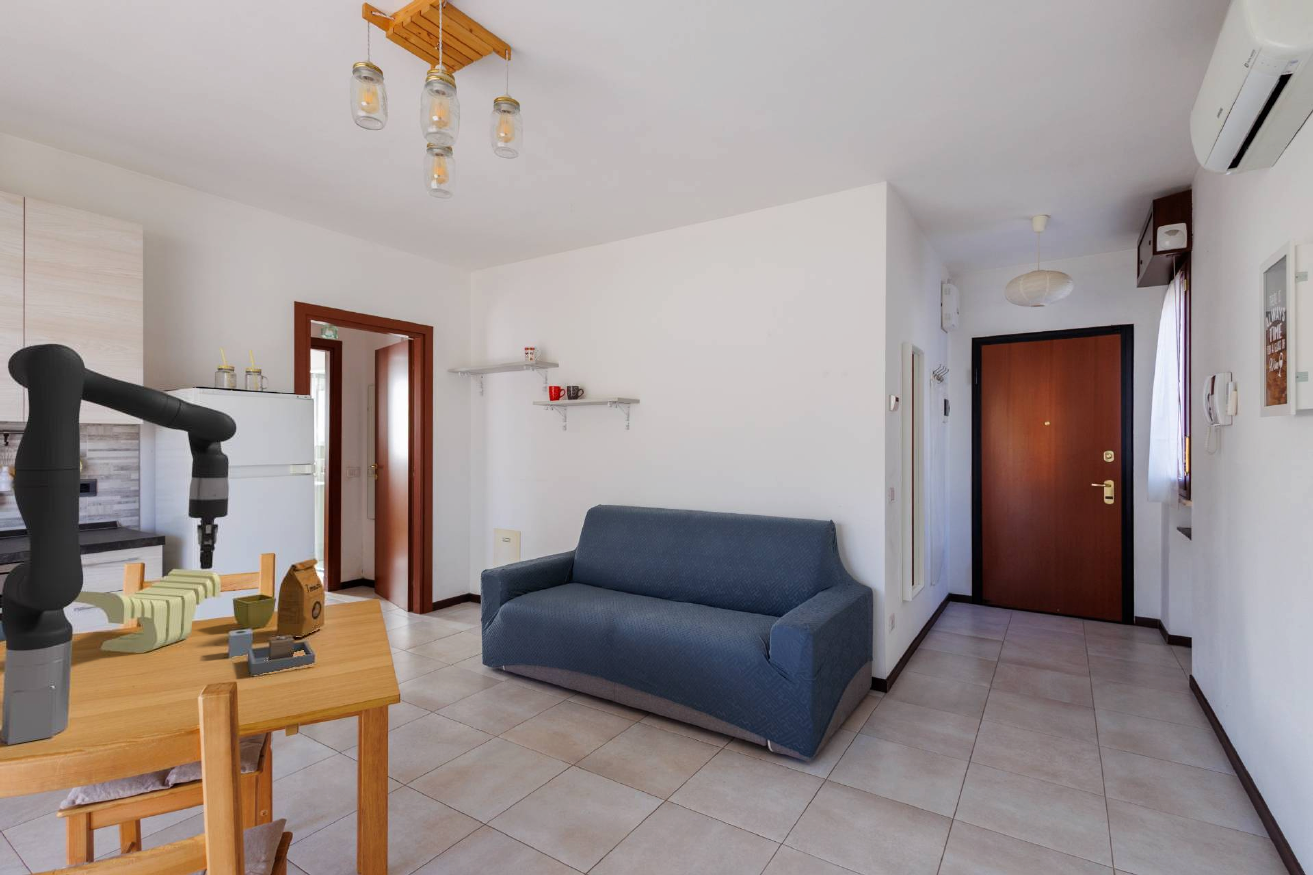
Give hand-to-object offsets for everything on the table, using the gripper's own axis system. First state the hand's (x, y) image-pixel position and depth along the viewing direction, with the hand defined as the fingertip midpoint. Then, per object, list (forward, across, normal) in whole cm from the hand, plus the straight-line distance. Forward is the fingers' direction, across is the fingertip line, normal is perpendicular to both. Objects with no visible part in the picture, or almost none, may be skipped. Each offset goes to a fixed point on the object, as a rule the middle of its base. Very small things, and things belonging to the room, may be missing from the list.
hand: (205, 565), depth 147 cm
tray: (+28, +7, -17) cm, 34 cm away
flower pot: (+28, +48, -14) cm, 57 cm away
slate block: (+28, +21, -9) cm, 36 cm away
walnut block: (+28, +7, -17) cm, 33 cm away
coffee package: (+28, +33, -25) cm, 50 cm away
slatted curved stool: (+28, +43, +11) cm, 53 cm away
